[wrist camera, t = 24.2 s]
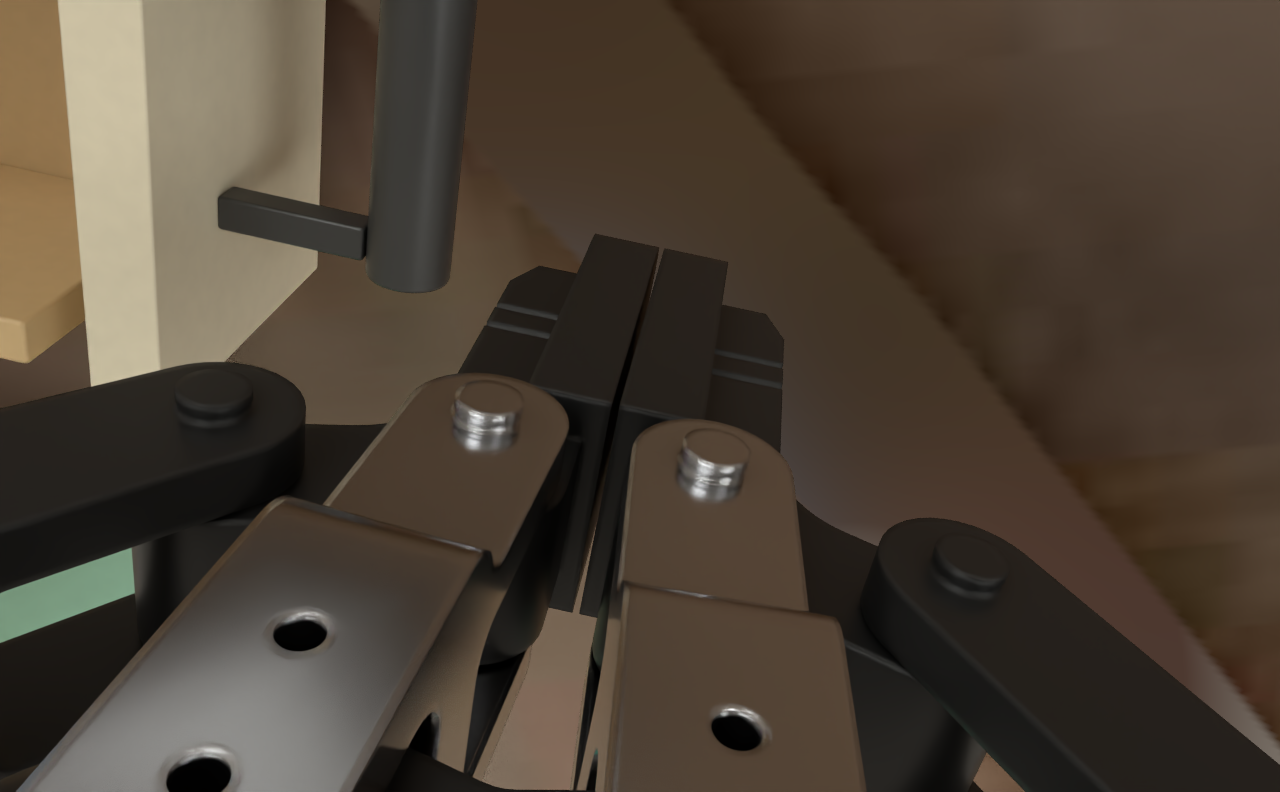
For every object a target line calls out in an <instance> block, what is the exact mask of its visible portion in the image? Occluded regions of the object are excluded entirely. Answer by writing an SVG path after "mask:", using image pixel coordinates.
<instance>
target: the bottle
mask: <svg viewBox="0 0 1280 792" xmlns="http://www.w3.org/2000/svg"><path fill="white" fill-rule="evenodd" d="M133 593H135V588H134V575H133V561H132V548H129V549H126V550H123V551H120V552H118V553H115V554H112V555H109V556H106V557H103V558H100V559H97V560H94V561H91V562H88V563H86V564H83V565H80V566H77V567H74V568H71V569H68V570H65V571H62V572H59V573H56V574H54V575H51V576H48V577H45V578H42V579H39V580H36V581H33V582H30V583H27V584H24V585H21V586H19V587H16V588H13V589H10V590H7V591H4V592H2V593H0V643H1V642H4V641H7V640H9V639H12V638H15V637H18V636H20V635H23V634H26V633H28V632H31V631H34V630H36V629H39V628H42V627H44V626H47V625H50V624H53V623H55V622H58V621H61V620H63V619H66V618H69V617H71V616H74V615H77V614H79V613H82V612H85V611H88V610H90V609H93V608H96V607H98V606H101V605H104V604H106V603H109V602H112V601H115V600H117V599H120V598H123V597H125V596H128V595H131V594H133Z"/></svg>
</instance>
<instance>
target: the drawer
mask: <svg viewBox="0 0 1280 792" xmlns="http://www.w3.org/2000/svg"><path fill="white" fill-rule="evenodd" d="M476 9H477V0H381V2H380V19H379V37H378V54H377V72H376V90H375V107H374V125H373V143H372V161H371V178H370V196H369V214H368V216H365V215H361V214H356V213H352V212H347V211H343V210H338V209H334V208H329V207H325V206H320V205H319V196H320V165H321V134H322V103H323V72H324V41H325V10H326V0H0V358H3V359H7V360H11V361H16V362H20V363H29V362H31V361H32V360H33V359H35V358H36V357H37V356H39V355H40V354H41V353H43V352H44V351H45V350H46V349H48V348H49V347H50V346H52V345H53V344H54V343H56V342H57V341H58V340H60V339H61V338H62V337H64V336H65V335H66V334H67V333H69V332H70V331H71V330H73V329H74V328H75V327H77V326H78V325H79V324H81V323H82V322H83V321H85V322H86V333H87V345H88V356H89V368H90V379H91V387H92V386H96V385H100V384H104V383H108V382H113V381H117V380H121V379H125V378H129V377H133V376H137V375H142V374H146V373H150V372H154V371H158V370H162V369H166V368H170V367H175V366H180V365H185V364H191V363H201V362H225V361H226V360H227V359H228V358H229V357H230V356H231V355H232V354H233V353H234V352H235V351H236V350H237V349H238V348H239V347H240V345H241V344H242V343H243V342H244V341H245V340H246V339H247V338H248V337H249V336H250V335H251V334H252V333H253V332H254V331H255V330H256V329H257V328H258V327H259V326H260V325H261V324H262V323H263V322H264V321H265V320H266V319H267V318H268V317H269V316H270V315H271V314H272V313H273V312H274V311H275V310H276V309H277V308H278V307H279V306H280V305H281V304H282V303H283V302H284V301H285V300H286V299H287V298H288V297H289V296H290V295H291V294H292V293H293V292H294V291H295V290H296V289H297V288H298V287H299V286H300V285H301V284H302V283H303V282H304V281H305V280H306V279H307V278H308V277H309V276H310V275H311V274H312V273H313V272H314V271H315V270H316V269H317V258H318V251H320V252H324V253H329V254H333V255H338V256H342V257H347V258H351V259H356V260H362V259H363V258H364V257H365V256H366V267H365V270H366V273H367V276H368V277H369V278H370V280H372V281H373V282H374V283H376V284H377V285H379V286H381V287H384V288H387V289H390V290H393V291H398V292H405V293H425V292H431V291H435V290H437V289H440V288H442V287H443V286H445V285H446V284H447V282H448V280H449V278H450V271H451V261H452V251H453V240H454V230H455V220H456V210H457V200H458V190H459V180H460V170H461V160H462V150H463V140H464V130H465V120H466V110H467V100H468V89H469V79H470V70H471V59H472V48H473V39H474V29H475V19H476Z"/></svg>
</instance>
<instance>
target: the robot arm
mask: <svg viewBox="0 0 1280 792" xmlns="http://www.w3.org/2000/svg"><path fill="white" fill-rule="evenodd" d="M658 251H659V247H655V246H650V245H645V244H640V243H636V242H631V241H626V240H622V239H617V238H613V237H608V236H603V235H599V234H595V235H594V237H593V239H592V241H591V244H590V246H589V248H588V251H587V253H586V255H585V257H584V259H583V262H582V264H581V266H580V268H579V271H578V273H577V274H576V273H571V272H566V271H562V270H557V269H552V268H548V267H543V266H538V267H536V268H534V269H532V270H530V271H528V272H526V273H524V274H522V275H520V276H518V277H516V278H515V279H513V280H511V281H510V282H509V284H508V285H507V287H506V289H505V291H504V292H503V294H502V296H501V298H500V299H499V301H498V304H497V307H495V308H494V310H493V312H492V314H491V315H490V317H489V319H488V321H487V325H486V326H484V328H483V329H482V331H481V333H480V335H479V337H478V338H477V340H476V342H475V344H474V345H473V347H472V349H471V351H470V352H469V354H468V356H467V358H466V360H465V361H464V363H463V365H462V367H461V368H460V370H459V372H458V374H453V375H447V376H443V377H439V378H436V379H433V380H431V381H429V382H426V383H424V384H423V385H421V386H420V387H418V388H416V389H415V390H414V391H413V392H412V393H411V394H410V395H409V397H408V398H407V399H406V400H405V402H404V403H403V404H402V406H401V407H400V408H399V409H398V411H397V412H396V413H395V414H394V416H393V417H392V418H391V419H390V421H389V422H388V423H385V424H375V425H320V424H305V421H306V405H305V400H304V397H303V396H302V394H301V392H300V391H299V390H298V388H297V387H296V386H295V385H294V384H293V383H291V382H290V381H288V380H287V379H286V378H284V377H282V376H280V375H278V374H276V373H274V372H271V371H269V370H266V369H263V368H259V367H255V366H251V365H246V364H239V363H230V362H201V363H191V364H185V365H180V366H175V367H170V368H166V369H162V370H158V371H154V372H150V373H146V374H142V375H137V376H133V377H129V378H125V379H121V380H117V381H113V382H108V383H104V384H100V385H96V386H92V387H88V388H84V389H80V390H75V391H71V392H67V393H63V394H59V395H55V396H51V397H46V398H42V399H38V400H34V401H30V402H26V403H22V404H18V405H13V406H9V407H5V408H1V409H0V593H2V592H4V591H7V590H10V589H13V588H16V587H19V586H21V585H24V584H27V583H30V582H33V581H36V580H39V579H42V578H45V577H48V576H51V575H54V574H56V573H59V572H62V571H65V570H68V569H71V568H74V567H77V566H80V565H83V564H86V563H88V562H91V561H94V560H97V559H100V558H103V557H106V556H109V555H112V554H115V553H118V552H120V551H123V550H126V549H129V548H132V561H133V575H134V588H135V593H133V594H131V595H128V596H125V597H123V598H120V599H117V600H115V601H112V602H109V603H106V604H104V605H101V606H98V607H96V608H93V609H90V610H88V611H85V612H82V613H79V614H77V615H74V616H71V617H69V618H66V619H63V620H61V621H58V622H55V623H53V624H50V625H47V626H44V627H42V628H39V629H36V630H34V631H31V632H28V633H26V634H23V635H20V636H18V637H15V638H12V639H9V640H7V641H4V642H1V643H0V792H983V791H982V790H981V789H980V788H979V787H978V786H977V785H976V783H975V782H974V781H973V779H974V777H975V775H976V773H977V771H978V769H979V767H980V765H981V763H982V761H983V759H984V757H985V754H986V752H987V753H988V754H989V755H990V756H991V757H992V758H993V759H994V760H995V761H996V762H997V763H998V764H999V765H1000V766H1001V767H1002V768H1003V769H1004V770H1005V771H1006V772H1007V773H1008V774H1009V775H1010V776H1011V777H1012V778H1013V779H1014V780H1015V781H1016V783H1017V784H1018V785H1019V786H1020V787H1021V788H1022V789H1023V790H1024V791H1025V792H1280V765H1279V764H1278V763H1277V762H1275V761H1274V760H1273V759H1272V758H1271V757H1269V756H1268V755H1267V754H1266V753H1265V752H1263V751H1262V750H1261V749H1260V748H1259V747H1257V746H1256V745H1255V744H1254V743H1252V742H1251V741H1250V740H1249V739H1248V738H1246V737H1245V736H1244V735H1243V734H1242V733H1240V732H1239V731H1238V730H1237V729H1236V728H1234V727H1233V726H1232V725H1230V724H1229V723H1228V722H1227V721H1226V720H1225V719H1223V718H1222V717H1221V716H1220V715H1219V714H1217V713H1216V712H1215V711H1214V710H1213V709H1211V708H1210V707H1209V706H1208V705H1206V704H1205V703H1204V702H1203V701H1202V700H1201V699H1199V698H1198V697H1197V696H1196V695H1194V694H1193V693H1192V692H1191V691H1190V690H1188V689H1187V688H1186V687H1185V686H1184V685H1182V684H1181V683H1180V682H1179V681H1178V680H1176V679H1175V678H1174V677H1173V676H1171V675H1170V674H1169V673H1168V672H1167V671H1166V670H1164V669H1163V668H1162V667H1161V666H1159V665H1158V664H1157V663H1156V662H1155V661H1153V660H1152V659H1151V658H1150V657H1149V656H1147V655H1146V654H1145V653H1144V652H1142V651H1141V650H1140V649H1139V648H1138V647H1137V646H1135V645H1134V644H1133V643H1132V642H1130V641H1129V640H1128V639H1127V638H1126V637H1124V636H1123V635H1122V634H1121V633H1119V632H1118V631H1117V630H1116V629H1115V628H1114V627H1112V626H1111V625H1110V624H1109V623H1108V622H1106V621H1105V620H1104V619H1103V618H1101V617H1100V616H1099V615H1098V614H1097V613H1095V612H1094V611H1093V610H1092V609H1090V608H1089V607H1088V606H1087V605H1086V604H1084V603H1083V602H1082V601H1081V600H1080V599H1079V598H1077V597H1076V596H1075V595H1074V594H1072V593H1071V592H1070V591H1069V590H1067V589H1066V588H1065V587H1064V586H1063V585H1062V584H1060V583H1059V582H1058V581H1057V580H1056V579H1054V578H1053V577H1052V576H1051V575H1049V574H1048V573H1047V572H1046V571H1045V570H1043V569H1042V568H1041V567H1040V566H1039V565H1037V564H1036V563H1035V562H1034V561H1033V560H1031V559H1030V558H1029V557H1028V556H1027V555H1025V554H1024V553H1023V552H1021V551H1020V550H1019V549H1017V548H1016V547H1015V546H1013V545H1011V544H1010V543H1008V542H1006V541H1005V540H1003V539H1001V538H1000V537H998V536H996V535H993V534H991V533H989V532H987V531H985V530H982V529H980V528H977V527H975V526H972V525H968V524H965V523H961V522H957V521H952V520H947V519H938V518H917V519H911V520H906V521H903V522H901V523H898V524H896V525H894V526H893V527H891V528H890V529H888V530H887V532H886V533H885V534H884V535H883V536H882V539H881V541H880V543H879V546H875V545H873V544H871V543H868V542H866V541H863V540H861V539H859V538H857V537H855V536H852V535H850V534H848V533H845V532H843V531H841V530H839V529H837V528H835V527H833V526H831V525H829V524H827V523H826V522H824V521H823V520H821V519H819V518H818V517H816V516H815V515H814V514H812V513H811V512H810V511H808V510H807V509H806V508H805V507H804V506H803V505H802V504H800V503H799V502H798V501H797V500H796V496H795V487H794V479H793V475H792V471H791V469H790V467H789V465H788V463H787V461H786V460H785V459H784V458H783V456H782V455H781V454H780V445H781V444H780V443H781V412H782V381H783V369H782V366H783V351H784V339H783V338H782V336H781V335H780V334H779V332H778V330H777V329H776V328H775V326H774V325H773V323H772V322H771V321H770V319H769V318H768V316H767V315H766V314H763V313H758V312H754V311H749V310H744V309H740V308H735V307H730V306H726V305H722V300H723V293H724V287H725V280H726V273H727V266H728V262H725V261H721V260H716V259H711V258H707V257H702V256H697V255H693V254H688V253H683V252H679V251H674V250H670V249H664V252H663V255H662V259H661V262H660V266H659V269H658V273H657V276H656V280H655V283H654V287H653V290H652V294H651V289H652V284H653V279H654V274H655V269H656V263H657V258H658ZM650 294H651V297H650ZM649 300H650V301H649ZM596 523H597V525H596ZM595 527H596V530H595ZM594 531H595V535H594V541H593V546H592V551H591V556H590V561H589V566H588V572H587V577H586V582H585V587H584V592H583V597H582V603H581V608H580V613H579V614H582V615H587V616H591V617H596V618H597V622H596V627H595V632H594V637H593V643H592V647H591V652H590V657H589V661H588V666H587V671H586V676H585V681H584V686H583V693H582V701H581V708H580V716H579V723H578V731H577V739H576V746H575V754H574V761H573V769H572V777H571V784H570V790H513V789H503V788H499V787H494V786H492V785H489V784H486V783H484V782H482V779H483V777H484V774H485V772H486V770H487V767H488V765H489V762H490V760H491V758H492V755H493V753H494V750H495V748H496V746H497V743H498V741H499V738H500V736H501V734H502V731H503V729H504V726H505V724H506V722H507V719H508V717H509V714H510V712H511V710H512V707H513V705H514V702H515V700H516V698H517V695H518V693H519V690H520V688H521V686H522V683H523V681H524V679H525V676H526V674H527V670H528V667H529V662H530V656H531V650H532V644H533V643H534V641H535V640H536V639H537V637H538V636H539V634H540V632H541V630H542V627H543V624H544V620H545V617H546V614H547V611H548V607H549V608H553V609H558V610H563V611H567V612H573V608H574V604H575V601H576V597H577V593H578V590H579V586H580V582H581V579H582V575H583V571H584V568H585V564H586V560H587V557H588V553H589V549H590V545H591V542H592V538H593V534H594Z"/></svg>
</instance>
